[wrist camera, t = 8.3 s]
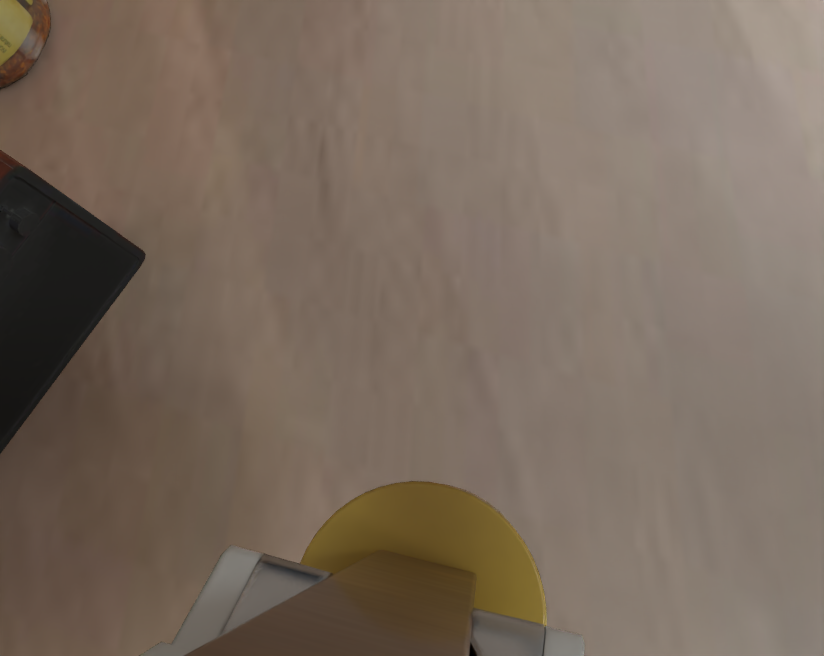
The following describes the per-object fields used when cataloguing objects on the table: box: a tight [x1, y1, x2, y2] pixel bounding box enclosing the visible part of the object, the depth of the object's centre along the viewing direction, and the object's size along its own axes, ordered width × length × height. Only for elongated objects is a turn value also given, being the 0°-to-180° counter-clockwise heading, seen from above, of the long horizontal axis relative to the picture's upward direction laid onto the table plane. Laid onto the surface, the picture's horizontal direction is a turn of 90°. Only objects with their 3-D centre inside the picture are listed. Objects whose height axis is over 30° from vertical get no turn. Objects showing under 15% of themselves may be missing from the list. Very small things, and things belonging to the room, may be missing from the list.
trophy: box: [184, 481, 547, 656], centre depth 11 cm, size 5×5×14 cm
